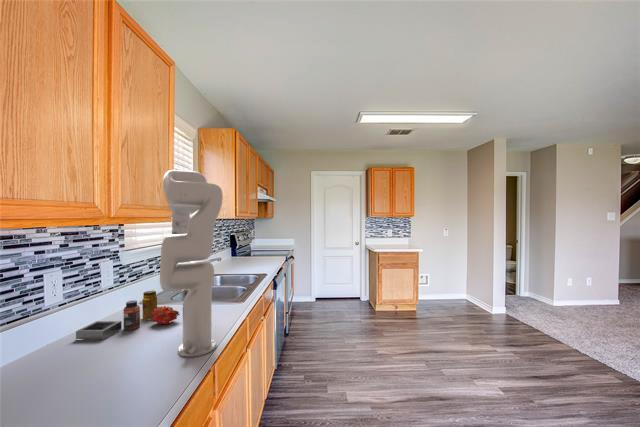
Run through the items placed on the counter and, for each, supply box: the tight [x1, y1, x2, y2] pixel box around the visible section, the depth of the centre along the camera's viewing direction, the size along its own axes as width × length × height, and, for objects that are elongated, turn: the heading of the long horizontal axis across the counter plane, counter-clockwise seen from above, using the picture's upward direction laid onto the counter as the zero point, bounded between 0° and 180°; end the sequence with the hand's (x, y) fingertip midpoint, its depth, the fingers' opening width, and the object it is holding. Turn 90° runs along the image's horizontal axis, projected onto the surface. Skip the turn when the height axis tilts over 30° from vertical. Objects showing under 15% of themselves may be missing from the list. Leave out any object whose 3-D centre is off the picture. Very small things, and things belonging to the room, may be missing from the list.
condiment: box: [140, 290, 158, 321], centre depth 139 cm, size 7×8×12 cm
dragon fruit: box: [150, 305, 181, 326], centre depth 129 cm, size 8×8×12 cm
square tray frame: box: [75, 320, 123, 341], centre depth 118 cm, size 10×10×4 cm
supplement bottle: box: [123, 299, 141, 331], centre depth 125 cm, size 6×6×11 cm
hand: (181, 261), depth 136 cm, fingers open, 9 cm apart
